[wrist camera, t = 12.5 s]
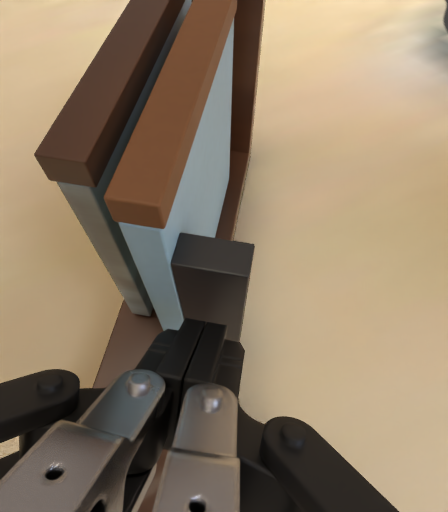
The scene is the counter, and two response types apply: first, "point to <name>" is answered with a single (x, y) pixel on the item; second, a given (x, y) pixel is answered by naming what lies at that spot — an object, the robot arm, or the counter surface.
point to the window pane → (186, 180)
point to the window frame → (114, 144)
